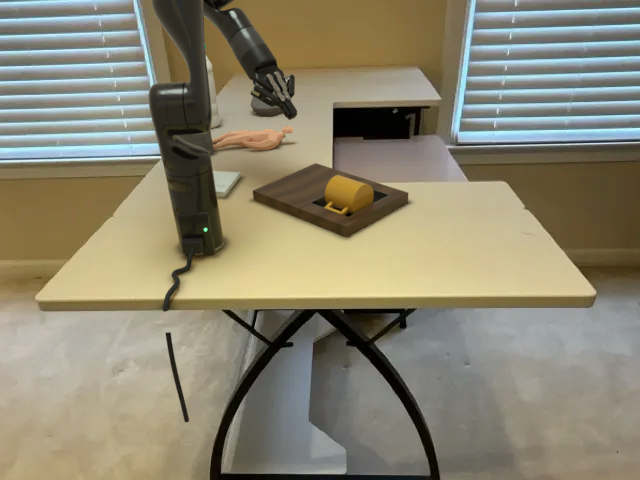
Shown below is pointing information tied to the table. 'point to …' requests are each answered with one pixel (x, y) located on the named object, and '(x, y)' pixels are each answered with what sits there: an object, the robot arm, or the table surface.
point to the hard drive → (225, 181)
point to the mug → (347, 195)
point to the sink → (322, 203)
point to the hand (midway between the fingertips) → (293, 117)
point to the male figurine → (252, 138)
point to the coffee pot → (264, 108)
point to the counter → (311, 184)
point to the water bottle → (212, 95)
